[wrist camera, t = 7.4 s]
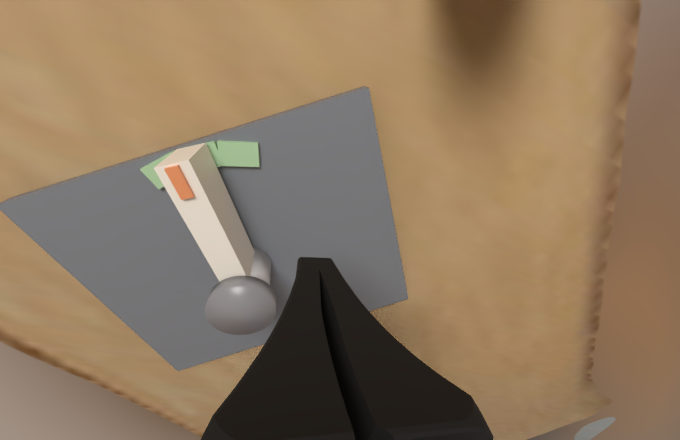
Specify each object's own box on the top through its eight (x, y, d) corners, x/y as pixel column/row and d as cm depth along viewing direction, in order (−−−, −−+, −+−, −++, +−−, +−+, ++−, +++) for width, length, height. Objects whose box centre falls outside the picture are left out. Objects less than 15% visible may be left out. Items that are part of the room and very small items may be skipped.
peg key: (284, 276, 21) (283, 325, 17) (233, 289, 21) (221, 341, 17) (228, 135, 15) (208, 161, 12) (157, 151, 15) (113, 183, 11)
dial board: (404, 290, 26) (409, 301, 25) (181, 360, 26) (176, 374, 25) (364, 86, 16) (370, 88, 15) (10, 197, 16) (-10, 208, 15)
